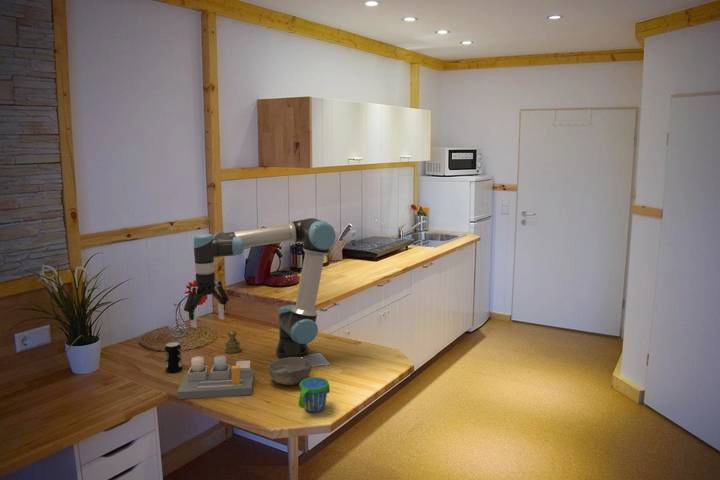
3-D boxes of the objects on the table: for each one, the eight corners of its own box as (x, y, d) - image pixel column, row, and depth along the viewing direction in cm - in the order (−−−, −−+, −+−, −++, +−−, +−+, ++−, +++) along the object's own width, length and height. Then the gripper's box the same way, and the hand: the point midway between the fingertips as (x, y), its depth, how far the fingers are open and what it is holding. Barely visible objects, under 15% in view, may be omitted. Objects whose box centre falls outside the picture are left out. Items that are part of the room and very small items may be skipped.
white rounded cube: (204, 367, 235) (204, 356, 234) (203, 372, 230) (202, 360, 230) (192, 368, 235) (192, 356, 234) (190, 372, 230) (190, 361, 229)
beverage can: (177, 373, 245) (175, 347, 243) (163, 372, 246) (161, 346, 244) (185, 368, 251) (183, 341, 249) (171, 367, 252) (169, 341, 250)
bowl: (294, 370, 248) (293, 352, 247) (320, 381, 236) (320, 363, 234) (259, 382, 236) (259, 363, 234) (285, 394, 223) (285, 375, 222)
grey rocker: (250, 363, 237) (250, 360, 237) (249, 370, 233) (249, 367, 232) (236, 364, 237) (236, 361, 236) (235, 371, 232) (235, 368, 232)
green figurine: (243, 351, 271) (242, 331, 269) (228, 354, 267) (227, 334, 265) (237, 347, 277) (236, 327, 275) (222, 350, 273) (221, 330, 271)
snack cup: (309, 420, 202) (309, 393, 200) (289, 412, 209) (288, 385, 207) (339, 405, 214) (339, 379, 212) (319, 397, 221) (318, 372, 219)
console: (254, 376, 241) (253, 362, 240) (251, 395, 223) (250, 379, 222) (185, 380, 238) (185, 365, 237) (177, 399, 220) (176, 383, 219)
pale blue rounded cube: (227, 366, 236) (226, 354, 235) (226, 371, 231) (225, 359, 231) (215, 367, 236) (214, 355, 235) (213, 371, 231) (213, 359, 230)
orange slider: (240, 382, 228) (239, 365, 226) (239, 385, 225) (239, 368, 224) (232, 382, 227) (232, 365, 226) (232, 385, 224) (231, 368, 223)
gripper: (224, 266, 244) (226, 314, 247) (172, 276, 224) (176, 328, 228) (235, 268, 239) (238, 317, 242) (183, 279, 220) (187, 332, 223)
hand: (208, 323), depth 235 cm, fingers open, 13 cm apart
